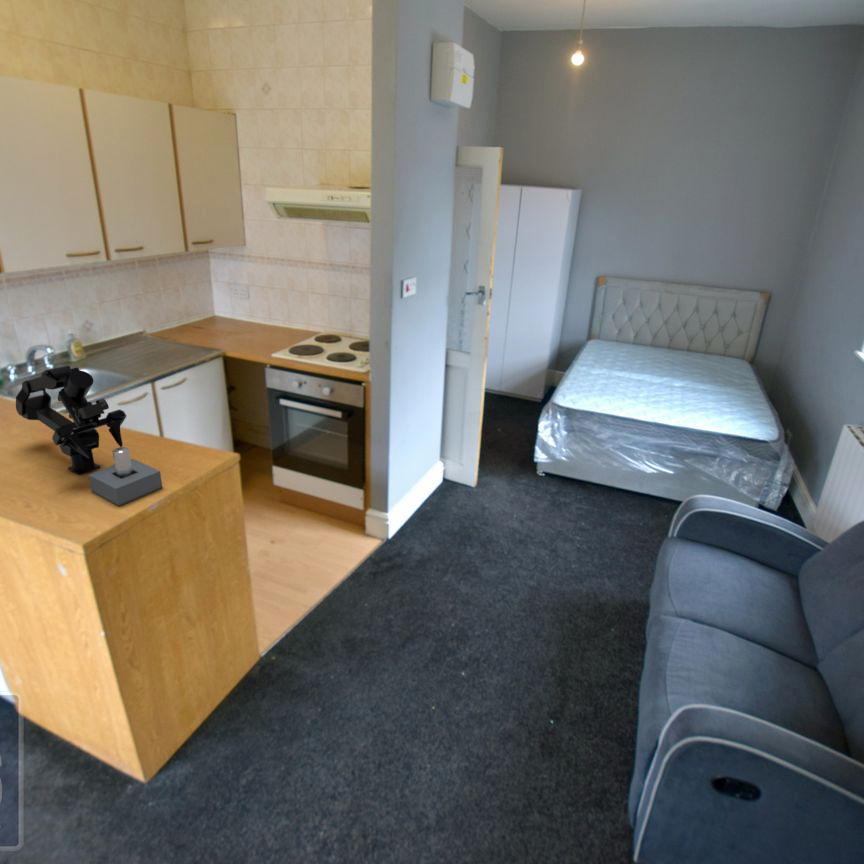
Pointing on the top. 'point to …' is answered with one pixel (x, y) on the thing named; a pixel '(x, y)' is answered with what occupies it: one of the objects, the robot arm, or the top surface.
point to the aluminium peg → (122, 462)
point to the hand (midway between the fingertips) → (105, 451)
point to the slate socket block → (125, 483)
